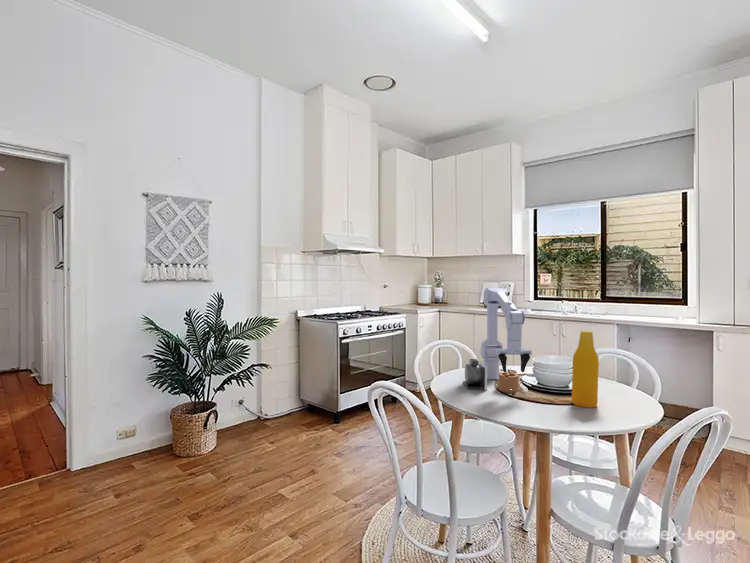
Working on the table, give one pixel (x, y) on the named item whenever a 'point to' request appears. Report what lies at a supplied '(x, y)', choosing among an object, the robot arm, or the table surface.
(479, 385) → the motor
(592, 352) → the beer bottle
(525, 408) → the table surface
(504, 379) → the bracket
